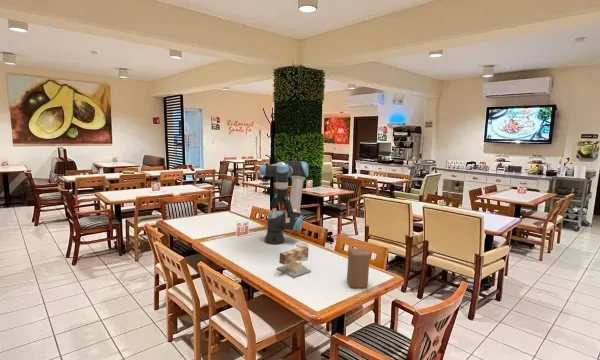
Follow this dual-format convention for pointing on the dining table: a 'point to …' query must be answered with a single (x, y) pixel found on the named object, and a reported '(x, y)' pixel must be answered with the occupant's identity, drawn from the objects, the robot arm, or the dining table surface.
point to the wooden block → (358, 268)
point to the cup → (302, 244)
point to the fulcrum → (294, 269)
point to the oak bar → (293, 255)
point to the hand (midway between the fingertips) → (280, 220)
